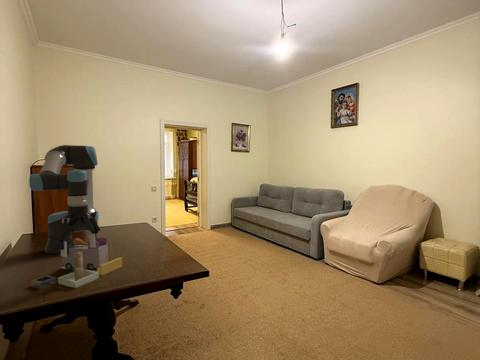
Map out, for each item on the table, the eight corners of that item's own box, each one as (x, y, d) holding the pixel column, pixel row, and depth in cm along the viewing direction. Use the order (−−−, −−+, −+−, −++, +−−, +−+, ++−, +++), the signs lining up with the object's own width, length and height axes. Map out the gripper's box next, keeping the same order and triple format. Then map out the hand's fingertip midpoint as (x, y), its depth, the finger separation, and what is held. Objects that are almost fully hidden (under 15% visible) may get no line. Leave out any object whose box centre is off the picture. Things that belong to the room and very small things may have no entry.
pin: (73, 280, 115) (72, 253, 114) (80, 277, 118) (79, 251, 117) (78, 281, 113) (77, 254, 113) (84, 278, 116) (84, 252, 116)
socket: (31, 286, 110) (30, 280, 110) (47, 280, 116) (46, 275, 116) (40, 289, 108) (40, 283, 108) (56, 282, 114) (56, 277, 114)
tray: (58, 284, 112) (58, 277, 112) (82, 274, 123) (81, 268, 123) (75, 289, 108) (75, 282, 108) (98, 278, 119) (98, 272, 118)
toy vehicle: (73, 264, 135) (73, 235, 134) (109, 265, 134) (109, 236, 133) (60, 271, 126) (59, 240, 125) (99, 272, 125) (98, 241, 124)
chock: (97, 274, 122) (97, 265, 122) (117, 265, 133) (117, 257, 133) (101, 275, 121) (101, 266, 121) (122, 266, 132) (122, 257, 132)
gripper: (54, 210, 102) (56, 262, 104) (107, 201, 125) (108, 244, 127) (42, 208, 105) (43, 259, 106) (96, 200, 128) (97, 242, 130)
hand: (79, 251), depth 117 cm, fingers open, 13 cm apart
